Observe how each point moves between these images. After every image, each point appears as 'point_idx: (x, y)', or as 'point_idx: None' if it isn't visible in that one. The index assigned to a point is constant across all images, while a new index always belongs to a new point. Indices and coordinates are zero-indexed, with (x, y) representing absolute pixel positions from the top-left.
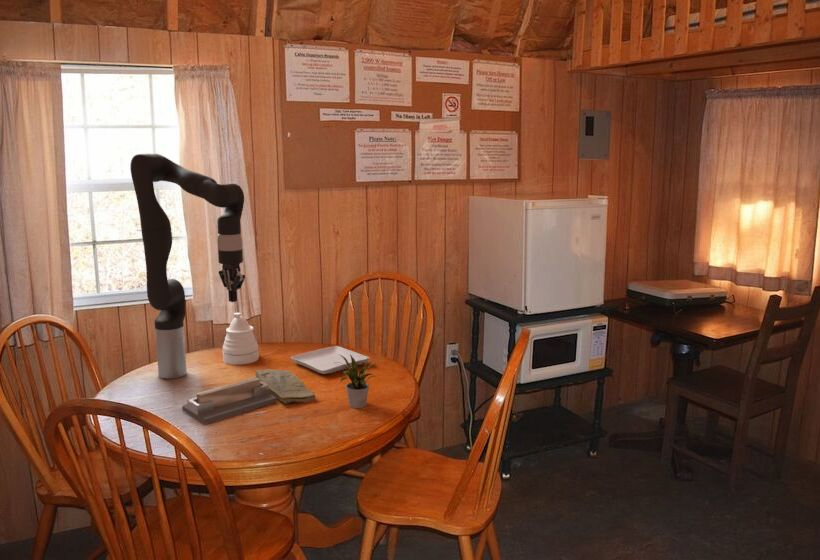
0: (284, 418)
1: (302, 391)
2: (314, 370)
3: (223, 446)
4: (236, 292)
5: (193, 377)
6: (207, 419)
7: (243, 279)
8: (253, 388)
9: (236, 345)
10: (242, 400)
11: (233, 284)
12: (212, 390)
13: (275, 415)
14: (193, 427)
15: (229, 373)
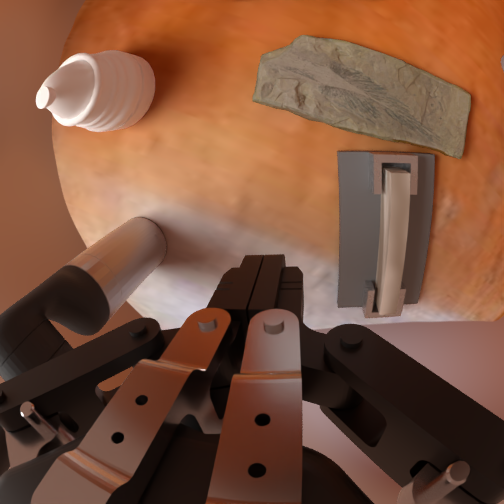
0: (489, 191)
1: (438, 92)
2: None
3: (481, 305)
4: (301, 310)
5: (176, 217)
6: (418, 297)
7: (500, 432)
8: (412, 194)
9: (118, 106)
10: None
11: (357, 436)
12: (391, 288)
13: (472, 194)
14: (409, 313)
15: (194, 143)
